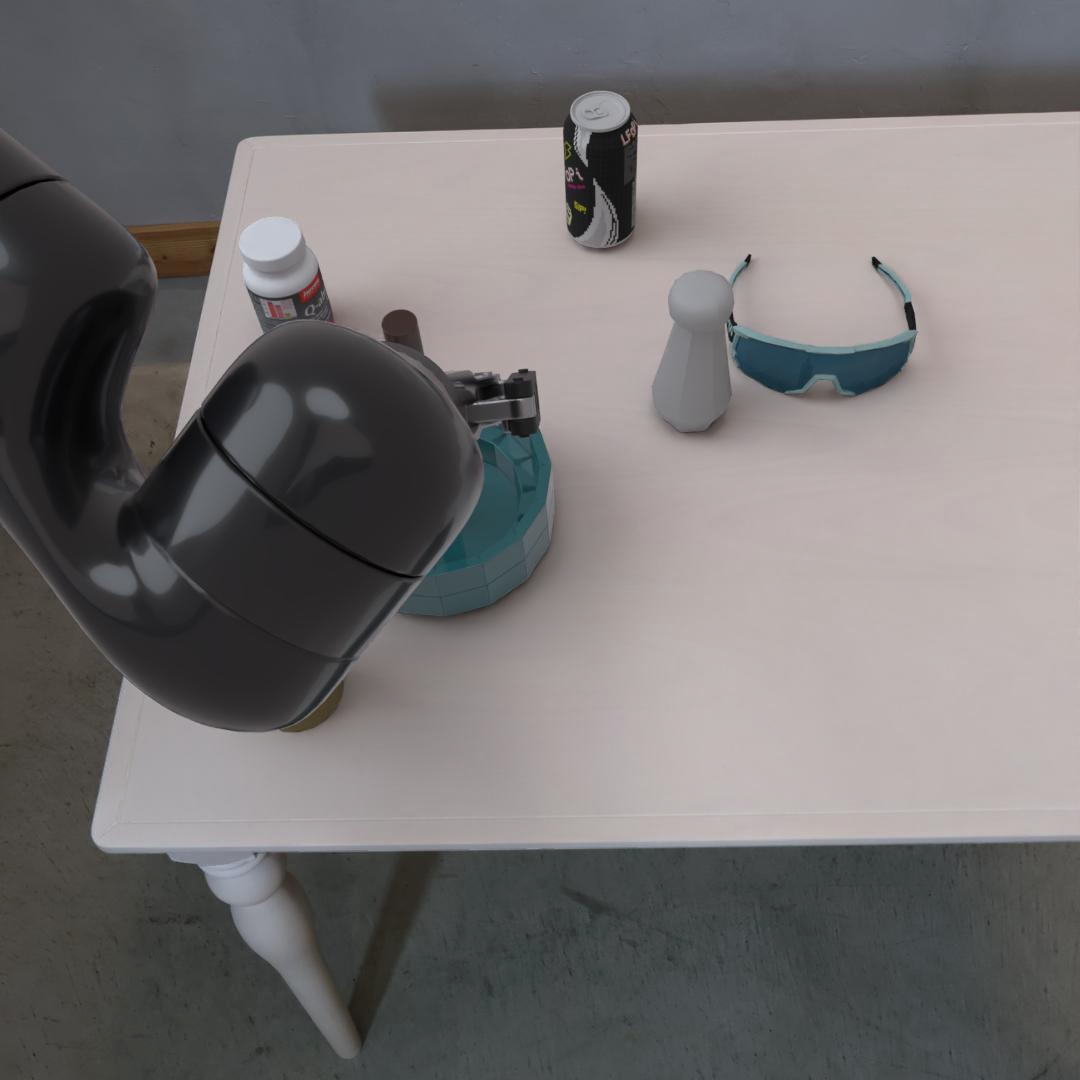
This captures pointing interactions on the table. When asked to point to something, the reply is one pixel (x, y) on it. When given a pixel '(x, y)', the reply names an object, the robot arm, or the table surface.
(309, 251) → the pill bottle
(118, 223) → the robot arm
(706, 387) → the salt shaker
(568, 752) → the table surface
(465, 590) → the bowl
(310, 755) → the table surface
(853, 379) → the sunglasses
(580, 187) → the beverage can
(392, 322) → the stick
